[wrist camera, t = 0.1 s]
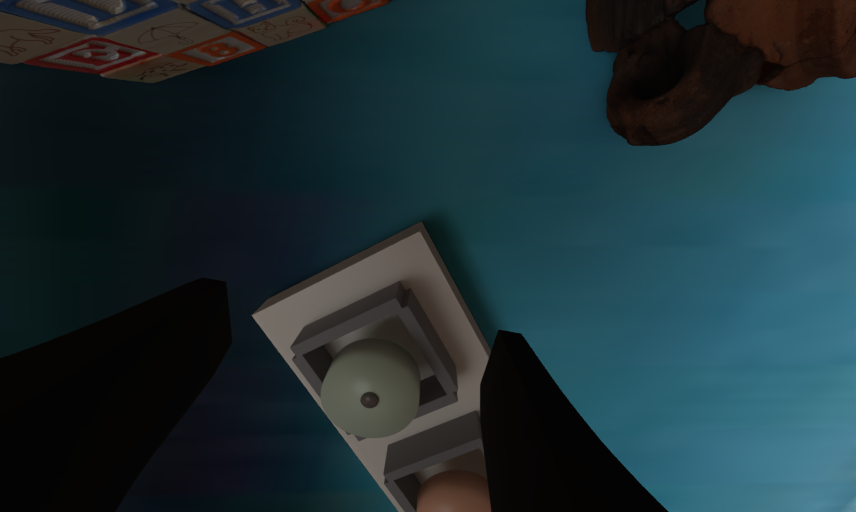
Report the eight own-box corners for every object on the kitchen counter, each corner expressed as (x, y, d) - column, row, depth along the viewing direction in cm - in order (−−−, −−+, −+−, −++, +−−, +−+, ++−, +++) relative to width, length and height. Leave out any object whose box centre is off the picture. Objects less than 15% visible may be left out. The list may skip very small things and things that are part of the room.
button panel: (597, 547, 27) (623, 614, 24) (475, 585, 29) (480, 653, 25) (421, 221, 19) (417, 243, 16) (268, 298, 21) (231, 335, 17)
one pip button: (436, 394, 18) (436, 419, 16) (359, 426, 19) (353, 452, 17) (392, 323, 17) (388, 343, 15) (311, 360, 18) (300, 382, 16)
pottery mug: (651, -187, 14) (1034, -447, 8) (715, 0, 20) (972, -58, 13) (500, 85, 15) (739, 61, 8) (603, 194, 20) (797, 233, 14)
